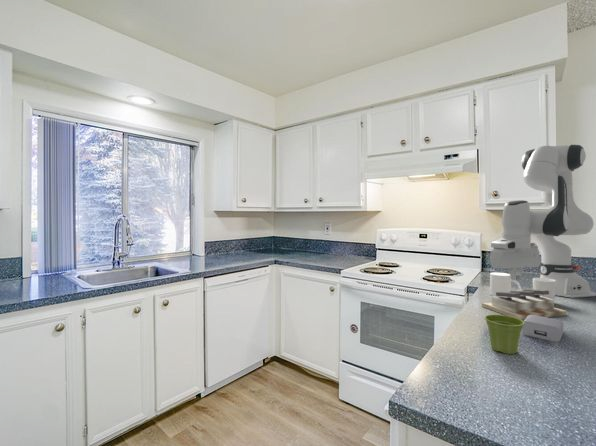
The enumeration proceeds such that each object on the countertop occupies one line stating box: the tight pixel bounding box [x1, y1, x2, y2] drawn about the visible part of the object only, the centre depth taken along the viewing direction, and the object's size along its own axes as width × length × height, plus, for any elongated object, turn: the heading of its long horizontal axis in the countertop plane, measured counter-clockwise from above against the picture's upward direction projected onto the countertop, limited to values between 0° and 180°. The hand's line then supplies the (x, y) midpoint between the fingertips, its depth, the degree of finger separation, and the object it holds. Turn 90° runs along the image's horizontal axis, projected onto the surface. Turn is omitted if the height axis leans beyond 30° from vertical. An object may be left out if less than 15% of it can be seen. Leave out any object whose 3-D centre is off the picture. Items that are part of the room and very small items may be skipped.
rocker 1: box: [496, 292, 521, 298], centre depth 120 cm, size 3×8×2 cm, turn 14°
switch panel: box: [481, 295, 568, 321], centre depth 122 cm, size 22×17×6 cm
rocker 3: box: [522, 289, 549, 295], centre depth 123 cm, size 3×8×2 cm, turn 14°
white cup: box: [532, 277, 556, 300], centre depth 132 cm, size 8×8×10 cm
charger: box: [521, 315, 564, 343], centre depth 100 cm, size 5×9×15 cm
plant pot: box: [484, 314, 524, 355], centre depth 87 cm, size 9×9×9 cm
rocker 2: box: [510, 290, 535, 296], centre depth 122 cm, size 3×8×2 cm, turn 14°
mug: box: [489, 271, 522, 297], centre depth 143 cm, size 8×10×12 cm
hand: (515, 279), depth 117 cm, fingers closed
